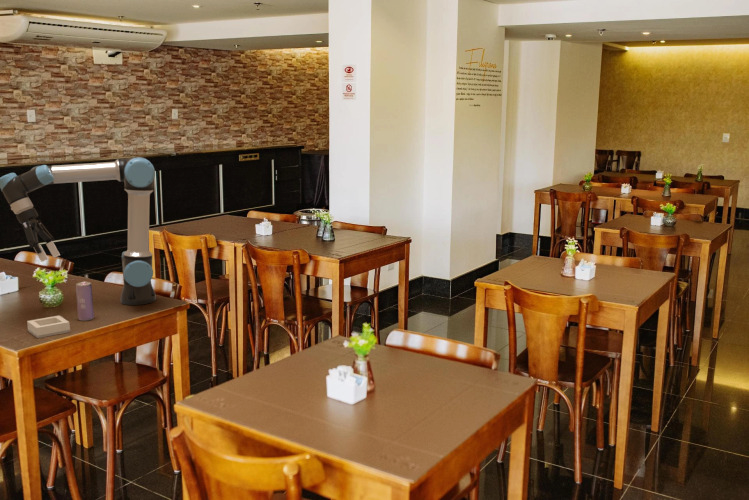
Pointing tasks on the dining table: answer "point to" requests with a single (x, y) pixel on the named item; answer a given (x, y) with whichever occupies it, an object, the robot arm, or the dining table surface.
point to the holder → (48, 326)
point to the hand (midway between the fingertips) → (51, 258)
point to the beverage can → (84, 301)
